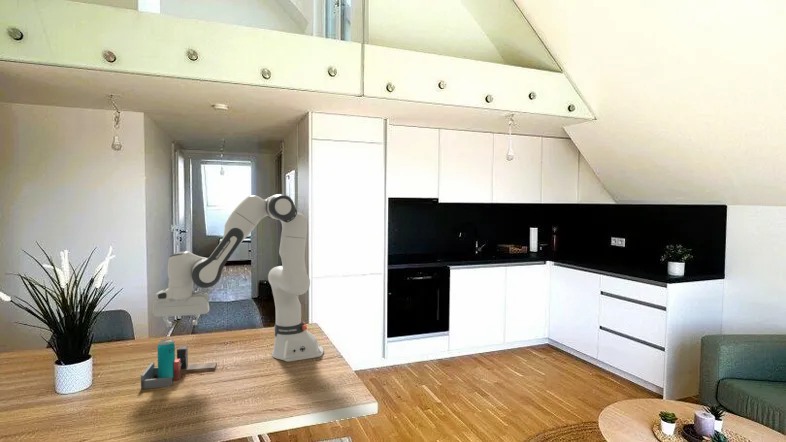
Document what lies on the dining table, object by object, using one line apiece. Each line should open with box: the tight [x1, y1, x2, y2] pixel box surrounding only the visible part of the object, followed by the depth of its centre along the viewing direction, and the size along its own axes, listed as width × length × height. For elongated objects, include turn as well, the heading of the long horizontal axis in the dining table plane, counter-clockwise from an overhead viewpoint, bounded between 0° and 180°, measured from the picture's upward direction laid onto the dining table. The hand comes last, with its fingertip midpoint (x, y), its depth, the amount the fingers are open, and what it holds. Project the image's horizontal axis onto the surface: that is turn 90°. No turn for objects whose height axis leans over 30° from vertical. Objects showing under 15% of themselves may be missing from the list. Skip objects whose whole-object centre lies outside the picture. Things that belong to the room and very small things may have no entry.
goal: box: [140, 362, 173, 390], centre depth 156 cm, size 10×12×5 cm
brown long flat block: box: [181, 361, 218, 374], centre depth 167 cm, size 16×5×1 cm, turn 104°
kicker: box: [173, 345, 189, 381], centre depth 161 cm, size 3×11×9 cm, turn 14°
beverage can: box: [157, 338, 176, 381], centre depth 156 cm, size 6×6×15 cm
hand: (182, 325), depth 164 cm, fingers open, 8 cm apart
